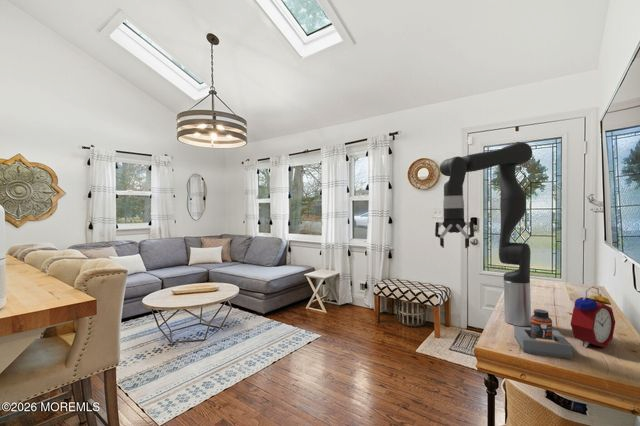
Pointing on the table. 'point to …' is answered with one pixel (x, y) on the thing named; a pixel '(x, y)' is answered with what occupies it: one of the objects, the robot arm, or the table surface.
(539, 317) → the supplement bottle
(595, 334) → the alarm clock
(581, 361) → the table surface
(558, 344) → the socket holder
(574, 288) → the table surface
